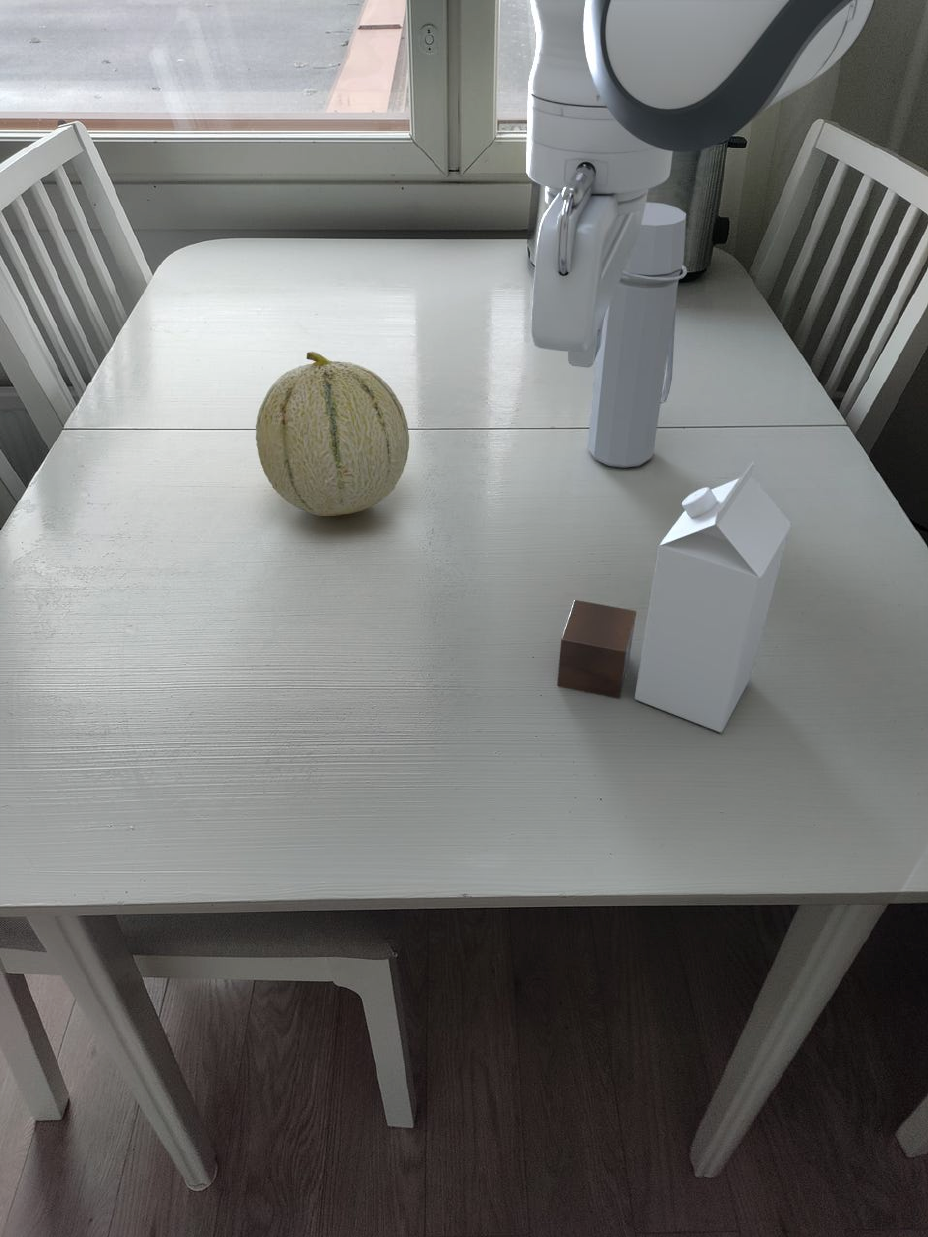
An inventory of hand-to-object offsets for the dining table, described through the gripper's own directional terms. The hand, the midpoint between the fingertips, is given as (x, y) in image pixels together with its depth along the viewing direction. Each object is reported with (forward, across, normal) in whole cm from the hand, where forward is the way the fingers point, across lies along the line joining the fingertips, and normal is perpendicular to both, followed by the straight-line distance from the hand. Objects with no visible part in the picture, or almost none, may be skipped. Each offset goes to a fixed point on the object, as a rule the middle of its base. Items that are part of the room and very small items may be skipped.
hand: (584, 357), depth 67 cm
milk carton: (+24, -6, -11) cm, 27 cm away
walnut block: (+24, -6, -4) cm, 25 cm away
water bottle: (+24, +29, -1) cm, 38 cm away
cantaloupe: (+24, +11, +25) cm, 37 cm away
